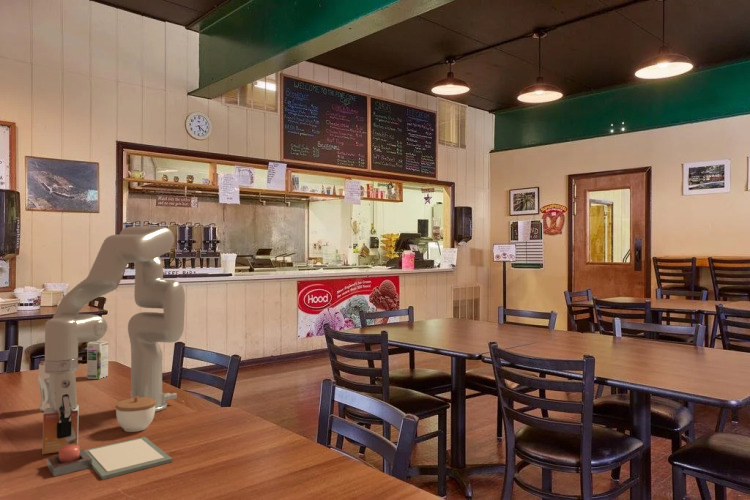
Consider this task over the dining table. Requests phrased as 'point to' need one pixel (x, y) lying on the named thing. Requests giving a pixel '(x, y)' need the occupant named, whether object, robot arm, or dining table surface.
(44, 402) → the beer glass
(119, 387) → the dining table surface
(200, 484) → the dining table surface
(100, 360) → the syrup box
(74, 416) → the small box
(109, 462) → the board
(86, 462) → the button housing
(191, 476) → the dining table surface
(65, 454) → the red rounded knob
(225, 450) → the dining table surface
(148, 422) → the lidded jar
